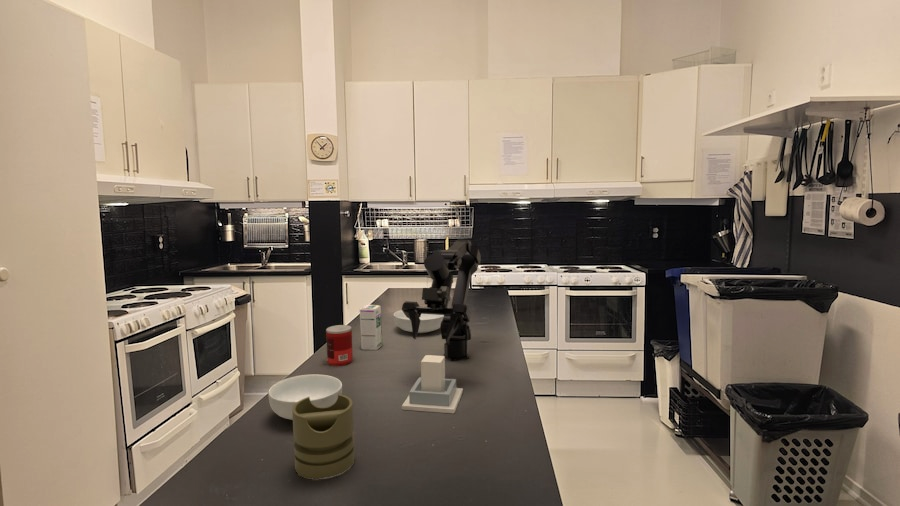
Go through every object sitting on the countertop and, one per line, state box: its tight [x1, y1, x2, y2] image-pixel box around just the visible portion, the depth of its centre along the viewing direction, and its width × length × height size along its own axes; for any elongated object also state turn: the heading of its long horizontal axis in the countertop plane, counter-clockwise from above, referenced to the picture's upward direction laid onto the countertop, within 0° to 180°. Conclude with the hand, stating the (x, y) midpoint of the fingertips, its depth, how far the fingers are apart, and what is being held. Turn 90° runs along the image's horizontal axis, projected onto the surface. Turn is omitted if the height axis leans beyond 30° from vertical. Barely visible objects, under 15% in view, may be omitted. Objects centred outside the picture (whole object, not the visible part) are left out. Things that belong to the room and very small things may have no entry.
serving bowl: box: [393, 309, 444, 334], centre depth 190 cm, size 21×21×7 cm
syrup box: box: [359, 304, 384, 351], centre depth 168 cm, size 6×6×14 cm
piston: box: [292, 394, 355, 479], centre depth 95 cm, size 11×12×11 cm
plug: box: [420, 354, 446, 393], centre depth 124 cm, size 5×5×10 cm
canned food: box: [325, 324, 354, 367], centre depth 154 cm, size 8×8×11 cm
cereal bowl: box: [267, 373, 343, 421], centre depth 117 cm, size 17×17×7 cm
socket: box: [401, 376, 464, 414], centre depth 125 cm, size 13×13×4 cm
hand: (430, 339), depth 132 cm, fingers open, 9 cm apart
